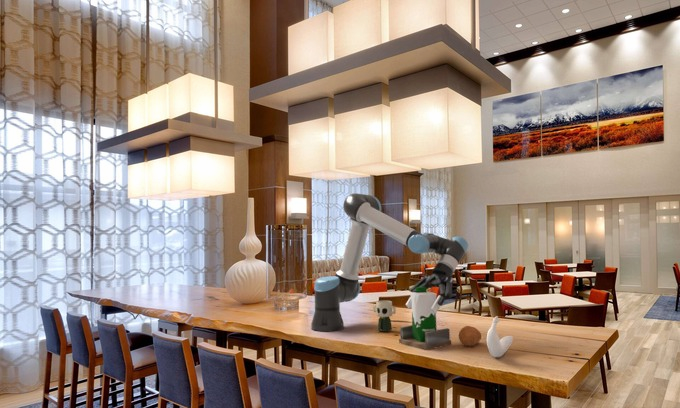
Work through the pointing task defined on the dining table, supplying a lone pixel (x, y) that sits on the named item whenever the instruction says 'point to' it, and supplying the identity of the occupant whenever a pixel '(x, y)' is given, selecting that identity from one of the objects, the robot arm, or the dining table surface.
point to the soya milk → (422, 313)
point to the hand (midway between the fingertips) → (420, 309)
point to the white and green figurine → (384, 314)
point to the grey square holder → (431, 338)
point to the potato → (469, 336)
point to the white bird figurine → (497, 341)
